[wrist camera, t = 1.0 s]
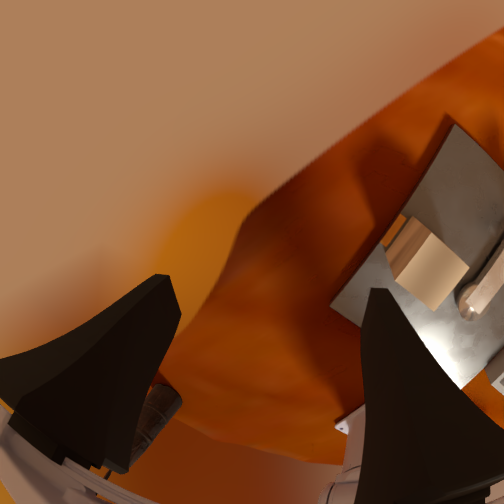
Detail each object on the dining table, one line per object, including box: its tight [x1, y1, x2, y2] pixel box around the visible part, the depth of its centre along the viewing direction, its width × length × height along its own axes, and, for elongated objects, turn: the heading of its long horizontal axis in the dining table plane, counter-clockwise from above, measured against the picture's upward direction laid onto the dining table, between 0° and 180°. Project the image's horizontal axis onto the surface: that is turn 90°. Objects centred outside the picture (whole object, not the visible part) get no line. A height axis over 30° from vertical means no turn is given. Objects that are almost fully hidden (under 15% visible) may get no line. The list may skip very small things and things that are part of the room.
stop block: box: [385, 216, 469, 312], centre depth 18 cm, size 4×4×6 cm
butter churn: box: [95, 384, 182, 496], centre depth 27 cm, size 9×10×28 cm
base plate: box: [329, 124, 504, 389], centre depth 20 cm, size 20×20×1 cm
